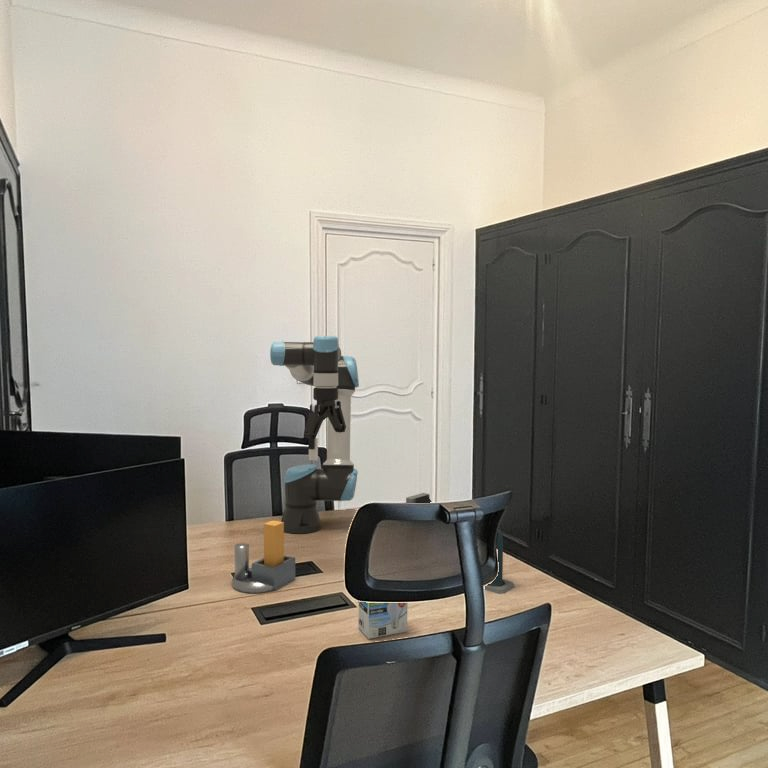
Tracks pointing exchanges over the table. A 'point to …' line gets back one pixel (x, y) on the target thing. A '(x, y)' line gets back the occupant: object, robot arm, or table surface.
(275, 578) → the bracket
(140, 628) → the table surface
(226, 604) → the table surface
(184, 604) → the table surface
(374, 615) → the light bulb box
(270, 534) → the orange rectangular block
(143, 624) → the table surface
